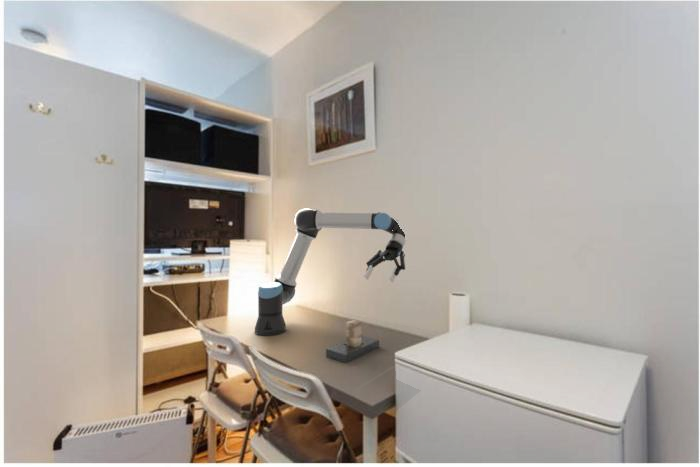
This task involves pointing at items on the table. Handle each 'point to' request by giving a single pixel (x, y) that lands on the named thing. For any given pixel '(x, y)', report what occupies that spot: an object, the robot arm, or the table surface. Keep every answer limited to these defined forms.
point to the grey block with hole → (352, 349)
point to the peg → (353, 333)
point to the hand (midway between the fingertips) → (378, 279)
